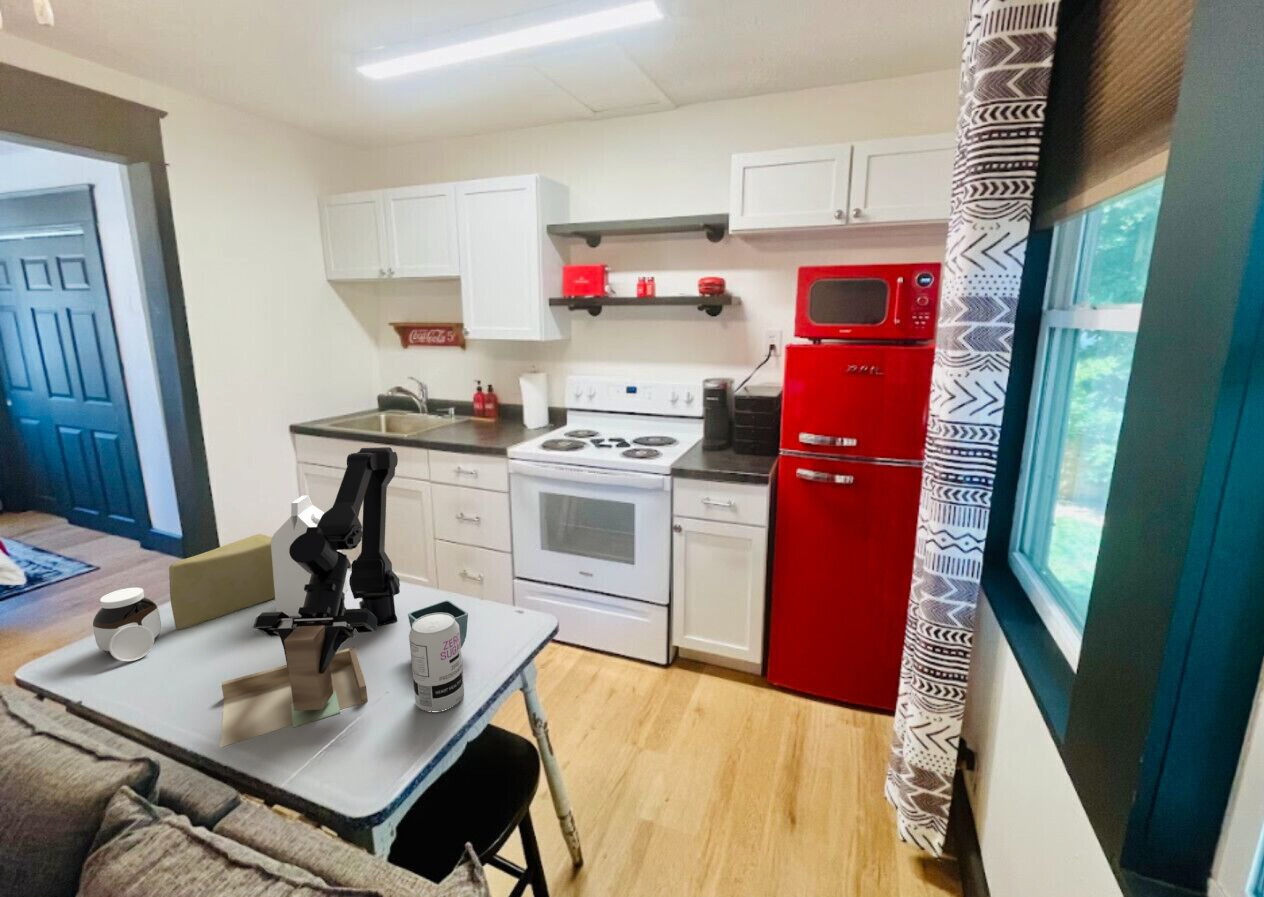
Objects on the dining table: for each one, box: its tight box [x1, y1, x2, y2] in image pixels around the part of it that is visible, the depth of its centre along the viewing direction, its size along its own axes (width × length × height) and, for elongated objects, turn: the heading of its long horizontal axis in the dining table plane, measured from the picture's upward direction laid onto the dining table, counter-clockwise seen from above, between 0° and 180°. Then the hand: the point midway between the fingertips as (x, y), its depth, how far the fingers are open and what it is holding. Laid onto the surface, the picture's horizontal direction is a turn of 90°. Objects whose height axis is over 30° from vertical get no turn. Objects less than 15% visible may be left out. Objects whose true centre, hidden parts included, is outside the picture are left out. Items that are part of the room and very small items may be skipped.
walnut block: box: [284, 625, 333, 711], centre depth 100 cm, size 4×4×13 cm
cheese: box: [168, 533, 275, 630], centre depth 137 cm, size 22×10×15 cm, turn 150°
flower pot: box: [407, 599, 469, 649], centre depth 118 cm, size 9×9×9 cm
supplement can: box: [408, 613, 465, 713], centre depth 103 cm, size 8×8×15 cm
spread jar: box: [92, 587, 162, 662], centre depth 120 cm, size 12×11×12 cm
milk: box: [271, 494, 349, 617], centre depth 138 cm, size 12×12×26 cm
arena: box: [219, 646, 369, 748], centre depth 104 cm, size 22×16×3 cm
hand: (306, 674), depth 99 cm, fingers closed on walnut block, 4 cm apart
